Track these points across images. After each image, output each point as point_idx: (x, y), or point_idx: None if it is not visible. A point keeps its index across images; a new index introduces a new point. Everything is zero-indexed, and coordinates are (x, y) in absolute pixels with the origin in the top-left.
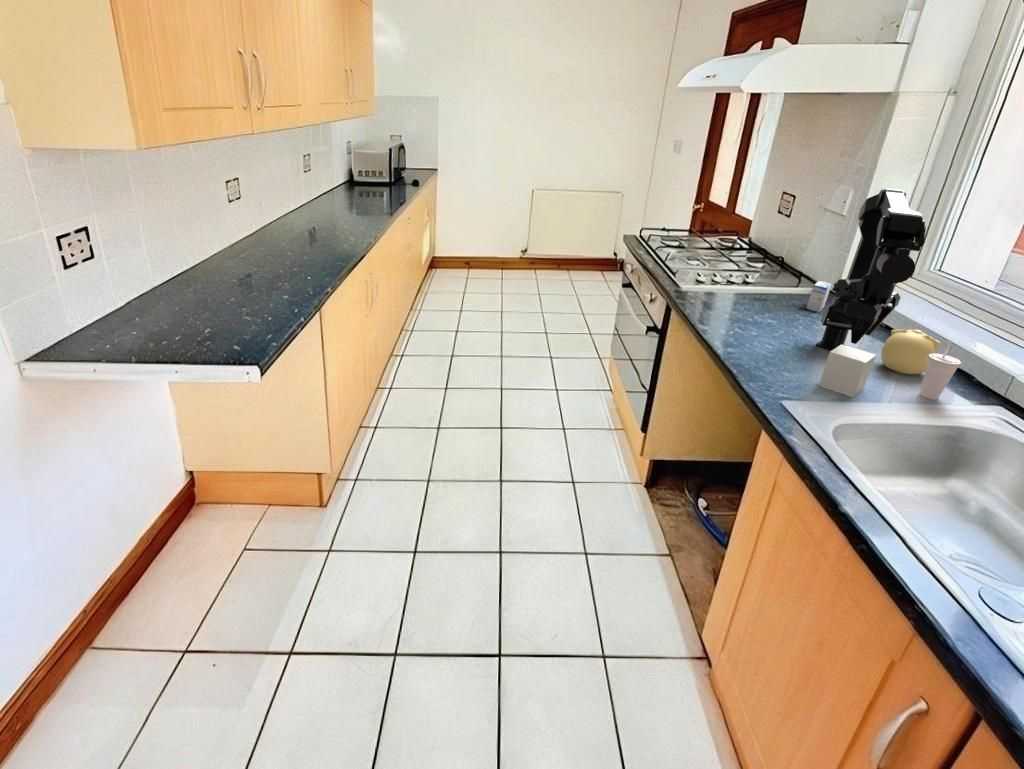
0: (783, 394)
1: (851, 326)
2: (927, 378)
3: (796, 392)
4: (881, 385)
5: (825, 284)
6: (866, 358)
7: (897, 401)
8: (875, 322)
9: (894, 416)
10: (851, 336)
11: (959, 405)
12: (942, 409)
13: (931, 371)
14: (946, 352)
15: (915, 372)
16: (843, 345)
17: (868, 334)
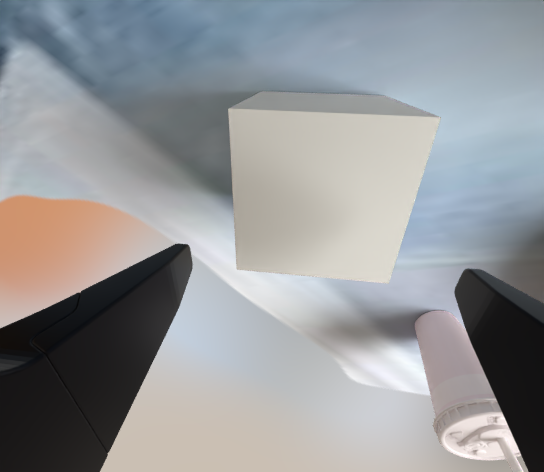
0: (68, 22)
1: (49, 307)
2: (438, 355)
3: (130, 52)
4: (432, 238)
5: None
6: (294, 263)
7: (336, 281)
8: (517, 398)
9: (237, 286)
10: (140, 263)
11: (420, 363)
12: (366, 344)
13: (441, 380)
14: (509, 463)
15: None
16: (424, 133)
17: (456, 292)
